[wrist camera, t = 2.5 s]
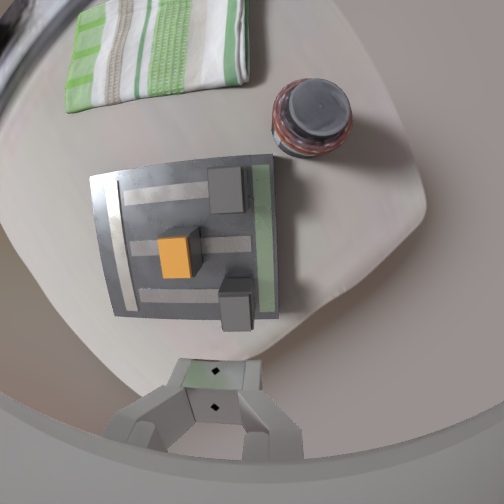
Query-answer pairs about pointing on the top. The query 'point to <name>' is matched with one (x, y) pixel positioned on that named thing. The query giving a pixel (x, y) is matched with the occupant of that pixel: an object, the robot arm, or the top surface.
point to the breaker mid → (180, 252)
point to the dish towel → (157, 50)
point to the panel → (184, 215)
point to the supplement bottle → (311, 118)
